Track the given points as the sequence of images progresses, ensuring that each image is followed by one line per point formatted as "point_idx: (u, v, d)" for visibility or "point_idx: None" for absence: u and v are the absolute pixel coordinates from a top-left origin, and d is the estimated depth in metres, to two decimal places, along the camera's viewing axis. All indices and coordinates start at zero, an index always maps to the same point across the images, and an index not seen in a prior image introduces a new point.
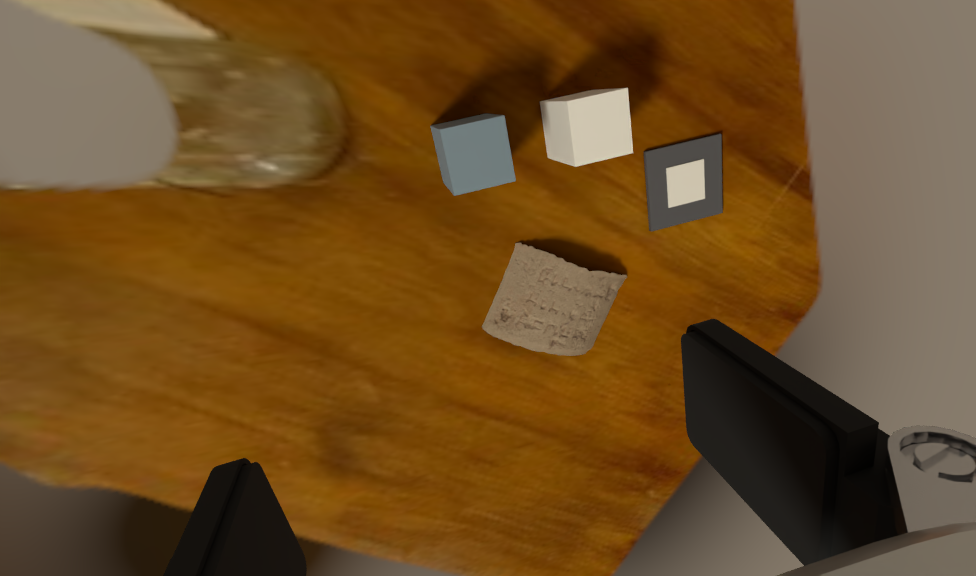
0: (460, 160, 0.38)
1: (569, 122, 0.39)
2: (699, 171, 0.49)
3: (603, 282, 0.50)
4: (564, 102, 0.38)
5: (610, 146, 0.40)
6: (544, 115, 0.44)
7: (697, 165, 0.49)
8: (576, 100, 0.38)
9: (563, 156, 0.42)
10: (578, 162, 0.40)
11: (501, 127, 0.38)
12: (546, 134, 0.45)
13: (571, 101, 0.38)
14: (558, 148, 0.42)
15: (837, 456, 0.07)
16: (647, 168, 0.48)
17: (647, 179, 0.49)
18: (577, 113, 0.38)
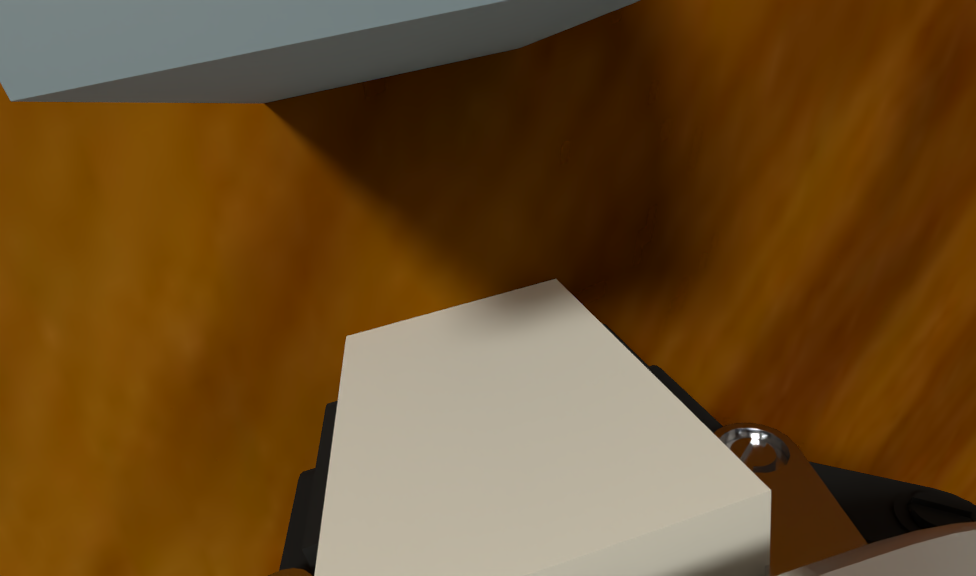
0: None
1: (630, 530, 0.05)
2: None
3: None
4: (728, 456, 0.06)
5: None
6: (517, 305, 0.11)
7: None
8: (762, 542, 0.06)
9: (367, 456, 0.07)
10: None
11: None
12: (444, 323, 0.11)
13: (764, 516, 0.05)
14: (405, 410, 0.08)
15: None
16: None
17: None
18: (685, 565, 0.05)
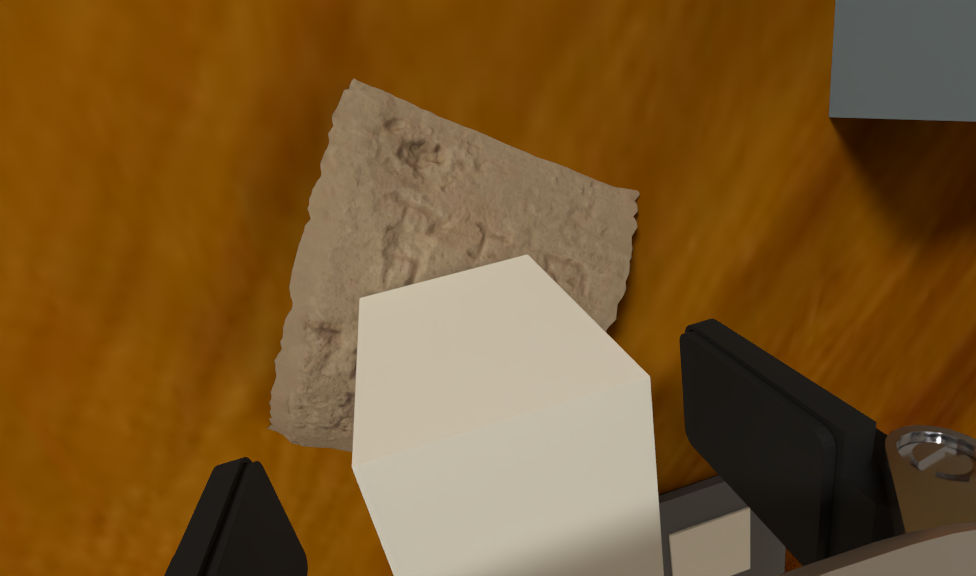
0: None
1: (558, 400, 0.08)
2: (727, 567, 0.24)
3: None
4: (628, 360, 0.09)
5: None
6: (495, 274, 0.14)
7: (740, 559, 0.24)
8: (647, 414, 0.09)
9: (383, 371, 0.10)
10: (374, 476, 0.08)
11: None
12: (438, 287, 0.14)
13: (646, 394, 0.08)
14: (409, 343, 0.11)
15: (835, 456, 0.07)
16: None
17: None
18: (595, 426, 0.08)
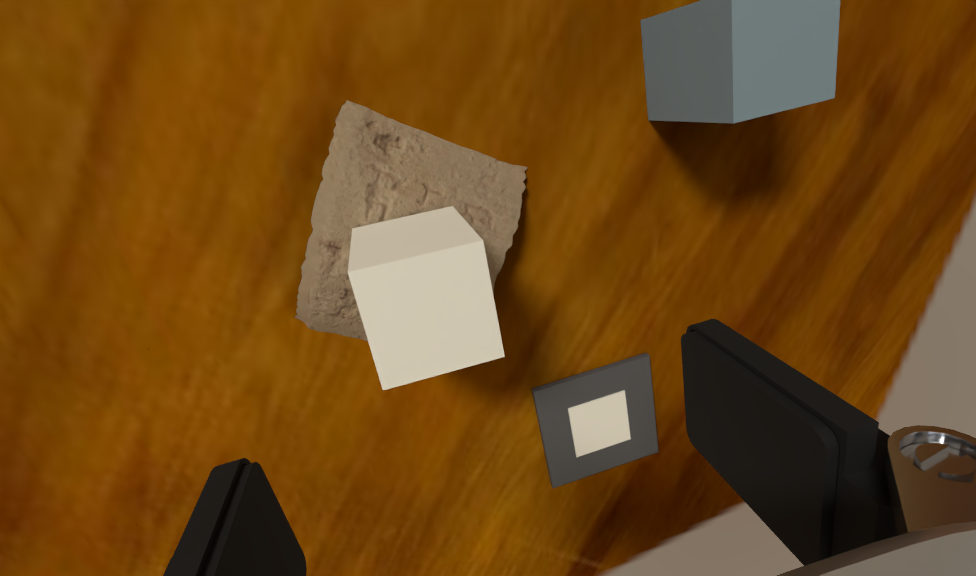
0: (787, 8, 0.20)
1: (441, 249, 0.18)
2: (614, 437, 0.34)
3: None
4: (477, 236, 0.19)
5: (393, 343, 0.19)
6: (431, 214, 0.24)
7: (623, 432, 0.34)
8: (484, 259, 0.19)
9: (363, 249, 0.20)
10: (357, 278, 0.18)
11: (819, 92, 0.22)
12: (397, 221, 0.24)
13: (482, 249, 0.18)
14: (378, 241, 0.21)
15: (837, 456, 0.07)
16: (626, 363, 0.32)
17: (611, 367, 0.32)
18: (459, 264, 0.18)
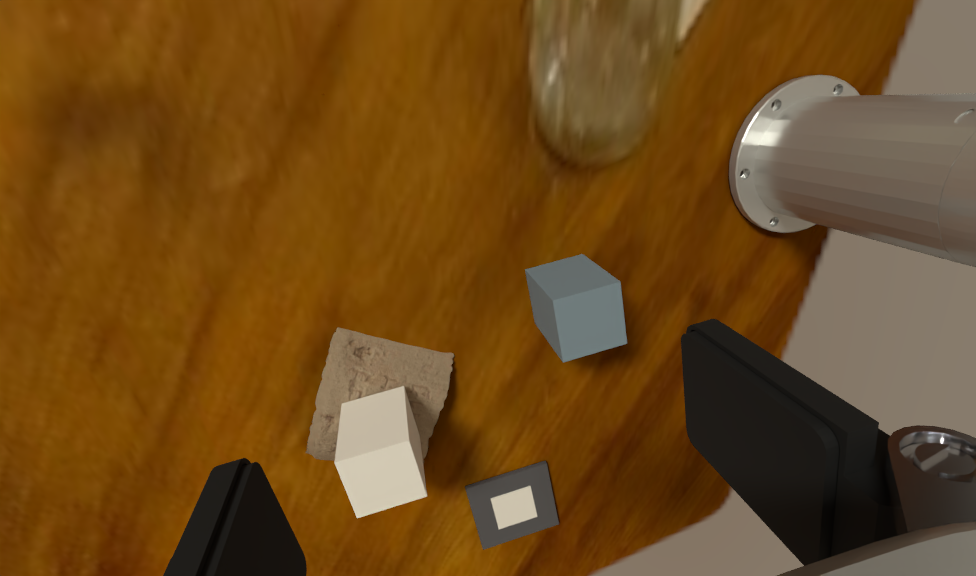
0: (588, 304, 0.35)
1: (385, 446, 0.33)
2: (525, 515, 0.49)
3: None
4: (407, 435, 0.34)
5: (361, 494, 0.34)
6: (389, 395, 0.39)
7: (531, 512, 0.49)
8: (410, 449, 0.33)
9: (345, 435, 0.35)
10: (340, 465, 0.33)
11: (616, 342, 0.36)
12: (368, 400, 0.39)
13: (409, 444, 0.33)
14: (354, 425, 0.36)
15: (837, 456, 0.07)
16: (530, 468, 0.47)
17: (519, 471, 0.47)
18: (396, 452, 0.33)
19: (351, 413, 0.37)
